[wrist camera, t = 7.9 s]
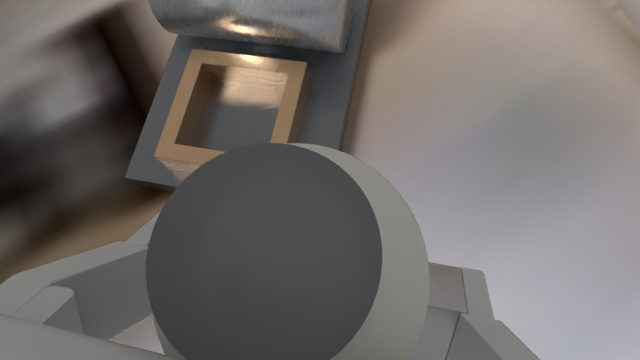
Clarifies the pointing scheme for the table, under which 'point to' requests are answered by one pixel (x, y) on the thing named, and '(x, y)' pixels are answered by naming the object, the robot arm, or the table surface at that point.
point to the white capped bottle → (287, 260)
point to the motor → (248, 81)
